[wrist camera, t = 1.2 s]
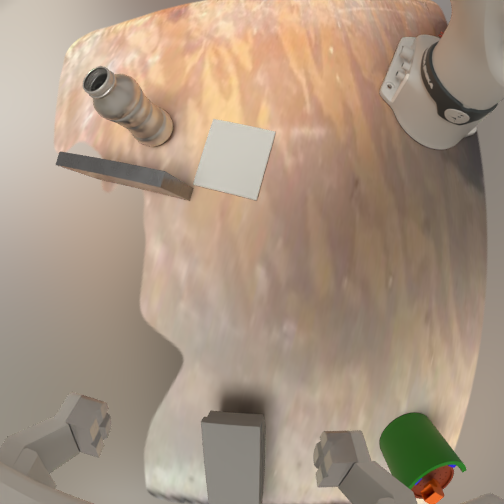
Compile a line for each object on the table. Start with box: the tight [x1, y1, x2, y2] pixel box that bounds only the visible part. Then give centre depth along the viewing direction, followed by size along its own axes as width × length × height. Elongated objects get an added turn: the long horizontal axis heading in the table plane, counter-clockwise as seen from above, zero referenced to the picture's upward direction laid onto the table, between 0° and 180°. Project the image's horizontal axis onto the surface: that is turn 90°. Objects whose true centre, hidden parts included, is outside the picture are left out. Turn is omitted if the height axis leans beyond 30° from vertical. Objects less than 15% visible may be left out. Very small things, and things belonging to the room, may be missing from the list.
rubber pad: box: [193, 119, 276, 201], centre depth 48 cm, size 11×10×1 cm
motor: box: [380, 413, 466, 504], centre depth 36 cm, size 10×9×20 cm
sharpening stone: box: [201, 411, 265, 504], centre depth 43 cm, size 25×8×11 cm, turn 0°
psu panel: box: [56, 152, 193, 201], centre depth 44 cm, size 2×18×12 cm, turn 75°
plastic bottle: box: [83, 66, 173, 146], centre depth 39 cm, size 6×7×20 cm
